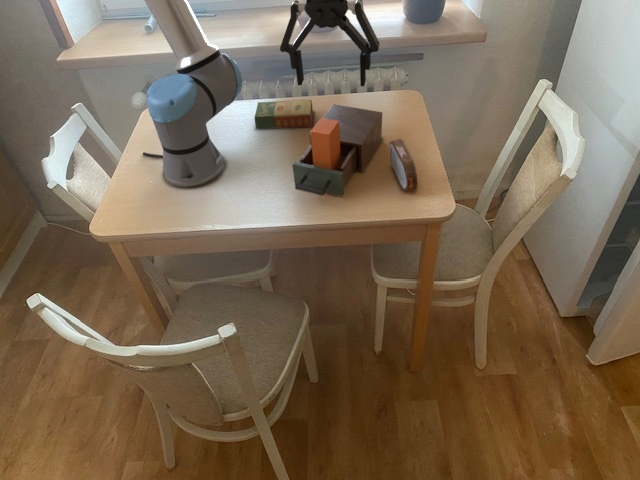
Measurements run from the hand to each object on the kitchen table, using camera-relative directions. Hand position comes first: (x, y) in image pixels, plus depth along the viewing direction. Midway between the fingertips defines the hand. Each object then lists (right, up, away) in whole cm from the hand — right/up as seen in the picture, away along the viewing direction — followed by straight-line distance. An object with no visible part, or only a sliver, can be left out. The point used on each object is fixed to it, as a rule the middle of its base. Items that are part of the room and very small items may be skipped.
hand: (331, 83), depth 102 cm
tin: (+17, -19, +14) cm, 29 cm away
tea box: (-1, -17, +14) cm, 22 cm away
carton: (-13, +1, +36) cm, 38 cm away
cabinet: (+5, -10, +23) cm, 26 cm away
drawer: (-1, -19, +14) cm, 23 cm away
